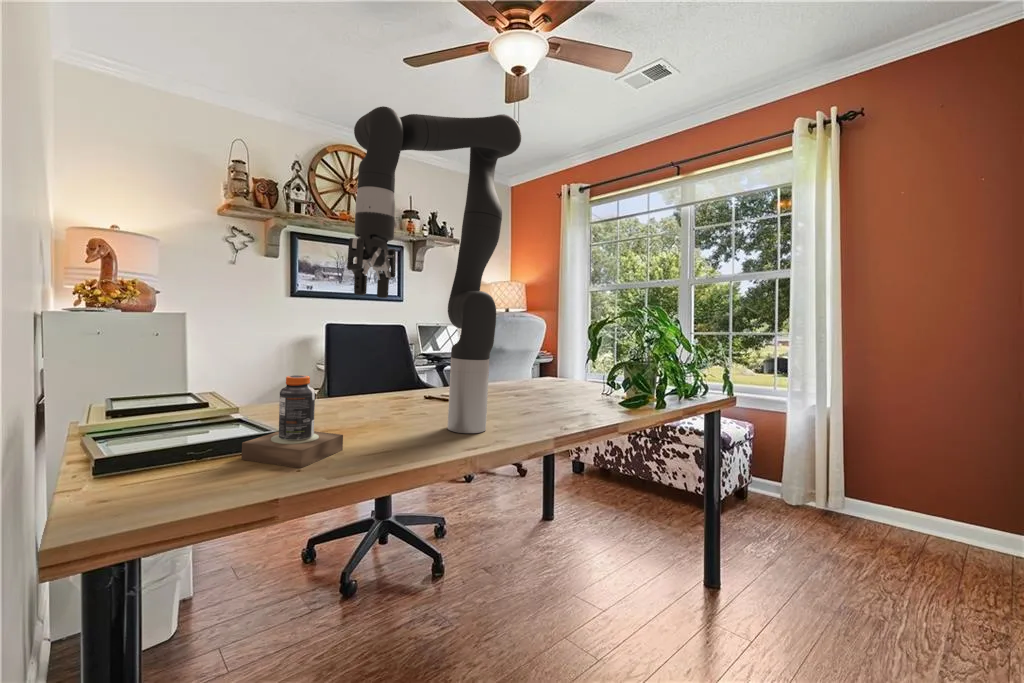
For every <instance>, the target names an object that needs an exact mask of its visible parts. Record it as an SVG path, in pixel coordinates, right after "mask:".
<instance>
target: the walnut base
mask: <svg viewBox="0 0 1024 683" xmlns="http://www.w3.org/2000/svg"><path fill="white" fill-rule="evenodd" d="M343 444H344V434H340V433H339V434H338V433H331V432H325V431H315V430H314V435H313V436H312V437H311V438H308V439H303V440H283V439H281V438H279V431H276V432H272V433H269V434H266V435H263V436H259V437H256V438H253V439H250V440H246V441H243V442H241V460H243V461H248V462H256V463H264V464H269V465H278V466H286V467H290V468H296V469H297V468H299V469H302V468H304V467H305V468H306V467H307V466H309V465H311V464H313V463H316V462H318V461H321V460H323V459H325V458H328V457H331V456H332V455H334V454H337V453H339V452H342V451H344V450H343V449H344V446H343Z"/></svg>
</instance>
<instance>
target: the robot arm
mask: <svg viewBox="0 0 1024 683" xmlns="http://www.w3.org/2000/svg"><path fill="white" fill-rule="evenodd" d="M353 135H354V138H355V140H356V142H357V143H358V145H359V146H360V147H361V148H363V149H364V150H366V153H365V156H364V157H363V158H362V160H361V161H360V163H359V164H358V165H359V166H358V170H357V193H356V199H355V208H354V209H355V211H354V212H355V214H354V236H355V237H350V238H349V240H348V248H347V249H348V250H347V262H346V268H347V270H348V271H349V270H350V271H351V272H352V274H353V275H354V281H353V282H354V284H353V293H354V295H356V296H357V295H358V296H365V295H367V290H368V289H367V287H368V286H367V285H368V284H367V283H368V276H367V274H368V272H369V270H370V269H371V268H372V269H373V271H374V272H375V273H376V275H377V284H376V285H377V286H376V287H377V288H376V290H377V291H376V297H377V298H381V299H387V298H388V297H389V287H390V286H389V285H390V284H389V283H390V280H391V279H392V278H393V279H394V278H396V259H397V258H396V248H388V242H391V241H393V240H394V237H395V217H396V201H395V200H396V199H395V186H396V183H395V182H396V171H397V167H398V164H399V159H400V155H401V153H402V152H403V151H418V152H419V151H420V152H442V151H443V152H444V151H451V150H452V151H453V150H458V149H459V150H460V149H469V148H470V149H469V173H468V183H467V191H466V197H465V198H466V199H465V207H464V212H463V218H462V226H461V236H460V244H459V249H458V255H457V262H456V270H455V274H454V279H453V282H452V285H451V286H452V287H451V291H450V294H449V298H448V303H447V314H448V318H449V321H450V323H451V324H452V325H453V326H454V327H455V328H457V329H460V331H461V332H460V337H459V339H458V341H457V342H456V343H455V344H453V345H452V346H451V348H450V350H451V352H450V353H451V354H450V369H449V370H450V372H449V374H450V375H449V389H448V390H449V391H448V393H449V394H448V410H447V411H448V412H447V430H448V431H451V432H454V433H457V434H458V433H459V434H479V433H483V432H485V431H486V429H487V414H488V394H489V393H488V391H489V375H490V374H489V373H490V355H491V352H492V349H493V348H494V347H493V346H494V343H495V334H496V326H497V325H496V324H497V306H496V302H495V300H494V298H493V297H492V295H491V294H489V293H488V292H486V291H481V286H482V285H481V284H482V279H483V276H484V271H485V269H486V267H487V265H488V263H489V261H490V259H491V258H492V256H493V254H494V252H495V249H496V248H497V245H498V243H499V240H500V234H501V228H502V221H503V210H502V205H501V201H500V199H499V196H498V194H497V190H496V187H495V174H496V173H495V172H496V166H497V162H498V159H500V158H504V157H507V156H509V155H512V154H513V153H515V152H516V151H517V150H518V149H519V148H520V145H521V143H522V131H521V127H520V125H519V123H518V122H517V120H516V119H515V118H514V117H512V116H510V115H507V114H496V115H491V116H483V117H482V116H481V117H479V116H478V117H456V116H455V117H452V116H439V115H431V114H420V113H419V114H418V113H411V114H406V115H402V116H399V114H398V113H397V112H396V111H395V110H394V109H392V108H391V107H388V106H378V107H375V108H373V109H372V110H370V111H369V112H367V113H366V114H364V115H363V116H361V117H360V118H359V119H358V120H357V121H356V122H355V125H354V128H353ZM354 258H355V260H354Z"/></svg>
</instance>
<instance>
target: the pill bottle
mask: <svg viewBox="0 0 1024 683" xmlns="http://www.w3.org/2000/svg"><path fill="white" fill-rule="evenodd" d="M310 384H311V377H310V376H309V375H287V376H285V387H283V388H281V390H280V391H279V407H278V408H279V409H278V410H279V411H278V414H279V415H278V432H279V438H281V439H283V440H303V439H308V438H311V437H312V436H313V435H314V431H315V411H316V410H315V405H316V392H315V389H314V388H313V387H312V386H310Z"/></svg>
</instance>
